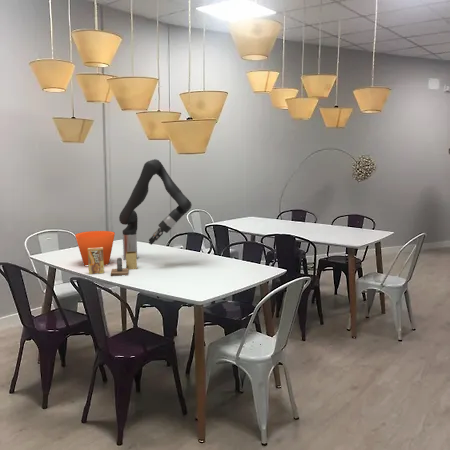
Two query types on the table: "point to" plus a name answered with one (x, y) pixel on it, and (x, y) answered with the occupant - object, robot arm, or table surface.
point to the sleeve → (131, 260)
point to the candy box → (95, 260)
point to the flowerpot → (95, 243)
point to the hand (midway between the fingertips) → (149, 242)
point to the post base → (115, 273)
